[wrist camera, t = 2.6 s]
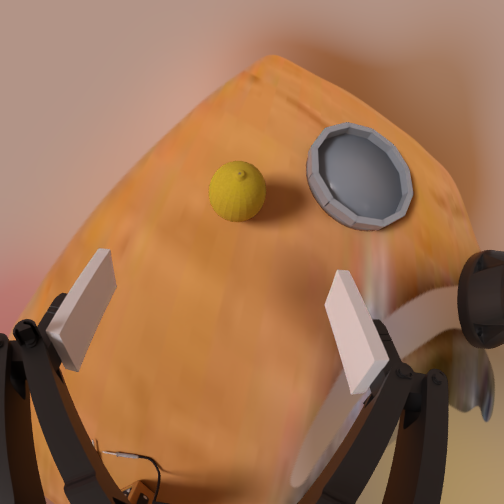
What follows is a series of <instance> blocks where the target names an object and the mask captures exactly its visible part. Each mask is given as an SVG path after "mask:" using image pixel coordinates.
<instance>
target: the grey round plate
mask: <svg viewBox="0 0 504 504" xmlns="http://www.w3.org/2000/svg"><path fill="white" fill-rule="evenodd" d="M306 176H307V181H308V184H309V187H310V190H311V192H312V194H313V196H314V198H315V199H316V201H317V202H318V204H319V205H320V206H321V208H322V209H323V210H324V211H325V212H326V213H327V214H328V215H329V216H331V217H332V218H333V219H334V220H336V221H337V222H339V223H340V224H342V225H344V226H346V227H349V228H352V229H355V230H359V231H375V230H380V229H382V228H384V227H386V226H387V225H389V224H391V223H393V222H395V221H396V220H398V219H400V218H402V217H403V216H404V215H405V214H406V212H407V209H408V207H409V204H410V202H411V199H412V196H413V188H412V182H411V176H410V170H409V167H408V166H407V164H406V163H405V161H404V159H403V158H402V156H401V155H400V153H399V151H398V150H397V148H396V147H395V146H394V145H393V144H392V143H391V142H390V141H388V140H387V139H386V138H384V137H383V136H382V135H380V134H379V133H378V132H376V131H375V130H374V129H372V128H368V127H365V126H361V125H357V124H353V123H349V122H348V123H347V122H346V123H342V124H338V125H334V126H330V127H326V128H325V129H324V130H323V131H322V133H321V134H320V135H319V137H318V138H317V139H316V141H315V142H314V143H313V145H312V146H311V148H310V150H309V152H308V158H307V162H306Z"/></svg>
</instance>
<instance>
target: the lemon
mask: <svg viewBox="0 0 504 504" xmlns="http://www.w3.org/2000/svg"><path fill="white" fill-rule="evenodd" d="M265 196H266V185H265V181H264V178H263V176H262V174H261V173H260V171H259V170H258V169H257V168H256V167H255V166H253V165H252V164H249V163H247V162H243V161H233V162H229V163H227V164H225V165H223V166H222V167H220V168H219V169H218V170H217V171H216V173H215V174H214V175H213V177H212V180H211V182H210V185H209V199H210V203H211V205H212V207H213V209H214V211H215V212H216V213H217V214H218V215H219V216H220V217H222V218H223V219H225V220H228V221H231V222H242V221H246V220H248V219H251V218H252V217H253V216H255V215H256V214H257V213H258V212H259V210H260V209H261V208H262V206H263V203H264V201H265Z"/></svg>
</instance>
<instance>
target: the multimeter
mask: <svg viewBox="0 0 504 504" xmlns="http://www.w3.org/2000/svg"><path fill="white" fill-rule="evenodd" d="M92 444H93V446H94V441H93V439H92ZM94 448H95V446H94ZM104 453H108V454H114V455H116V456H117V457H118V456H121V457H128V458H144V459H148V460H150V461H151V462H152V463H153V464H154V465H155V467H156V469H157V471H158V484H157V488H156V492H155V494H154V493H153V492H152V491H151V490H149V489H148V488H147V487H146V486H145V485H144V484H143V483H142V482H140V481H136V482H134V483H133V484H131V485H129V486H127V487H125V488H123V489H121V491H122V492H123V493H124V494H125V496H126V497H127V498H128V500H129V501H130V502H131V504H152V501H156V498H157V494H158V490H159V486H160V477H161V475H160V471H159V468H158V467H157V465H156V463H155V462H154V461H153V460H152V459H150V458H148V457H144V456H138V455H134V454H126V453H118V452H116V453H111V452H104Z"/></svg>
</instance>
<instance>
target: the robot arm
mask: <svg viewBox="0 0 504 504" xmlns="http://www.w3.org/2000/svg"><path fill="white" fill-rule="evenodd" d="M116 287H117V285H116V280H115V275H114V269H113V264H112V258H111V251H110V249H101V248H99V249H98V250H97V252H96V253H95V254H94V256H93V257H92V259H91V260H90V261H89V263H88V264H87V266H86V267H85V269H84V270H83V272H82V273H81V274H80V276H79V277H78V279H77V280H76V282H75V283H74V285H73V287H72V288H71V290H70V291H69V293H68V294H66V293H61V294H60V295H59V296H57V297H56V298H55V299H54V301H53V302H52V304H51V305H50V307H49V308H48V310H47V312H46V313H45V315H44V316H43V318H42V320H41V321H40V323H39V325H38V326H36V324H35V322H34V321H33V320H30V319H25V320H22V321H20V322H18V323H17V324H16V325H15V327H14V329H13V335H14V337H15V338H16V340H13V341H9V339H8V337H7V336H6V335H5V334H2V333H0V504H46V501H45V497H44V493H43V489H42V485H41V480H40V476H39V471H38V466H37V460H36V454H35V448H34V440H33V432H32V422H31V410H30V393H31V397H32V401H33V404H34V407H35V411H36V414H37V417H38V420H39V423H40V426H41V428H42V431H43V434H44V437H45V439H46V442H47V444H48V447H49V449H50V452H51V454H52V457H53V459H54V461H55V463H56V466H57V468H58V470H59V472H60V474H61V476H62V478H63V480H64V483H65V486H64V492H65V494H66V496H67V498H68V500H69V502H70V503H71V504H131V502H130V501H129V500H128V498H127V497H126V496H125V494H124V493H123V492H122V491H121V490H120V489H119V488H118V486H117V485H116V483H115V482H114V480H113V479H112V477H111V476H110V474H109V472H108V471H107V469H106V467H105V466H104V464H103V462H102V460H101V459H100V457H99V455H98V453H97V451H96V450H95V448H94V446H93V444H92V442H91V440H90V438H89V436H88V434H87V432H86V430H85V428H84V426H83V424H82V422H81V419H80V417H79V415H78V413H77V410H76V408H75V406H74V403H73V401H72V399H71V396H70V394H69V391H68V389H67V386H66V383H65V381H64V378H63V375H62V372H61V370H60V368H59V367H60V364H61V362H62V363H63V365H64V367H65V368H66V369H69V370H72V371H76V372H79V369H80V367H81V364H82V362H83V359H84V357H85V354H86V352H87V350H88V347H89V345H90V343H91V340H92V338H93V336H94V334H95V331H96V329H97V327H98V325H99V323H100V320H101V318H102V316H103V314H104V312H105V310H106V308H107V306H108V304H109V302H110V299H111V297H112V295H113V293H114V291H115V289H116ZM457 302H458V303H457V304H458V314H459V321H460V324H461V328H462V331H463V333H464V335H465V337H466V339H467V340H468V342H469V343H470V344H471V345H472V346H474V347H476V348H480V349H491V348H495V347H498V346H500V345H502V344H504V252H502V251H495V250H486V251H482V252H479V253H476V254H474V255H472V256H471V257H470V258H469V259H468V260H467V262H466V264H465V265H464V267H463V270H462V273H461V276H460V280H459V285H458V297H457ZM325 308H326V311H327V314H328V317H329V321H330V324H331V327H332V330H333V333H334V337H335V340H336V343H337V347H338V350H339V353H340V357H341V360H342V364H343V367H344V371H345V374H346V378H347V381H348V385H349V388H350V392H351V394H359V393H365V392H366V391H367V389H368V388H369V387H370V389H371V392H372V393H371V394H370V395H369V397H368V398H367V399H366V400H365V401H364V403H363V404H365V405H364V406H363V408H362V410H361V412H360V414H359V415H358V417H357V419H356V421H355V422H354V424H353V426H352V427H351V429H350V431H349V432H348V434H347V436H346V437H345V439H344V440H343V442H342V443H341V445H340V447H339V448H338V450H337V451H336V453H335V454H334V456H333V457H332V459H331V460H330V462H329V463H328V464H327V466H326V467H325V469H324V470H323V472H322V473H321V474H320V476H319V477H318V478H317V480H316V481H315V482H314V484H313V485H312V486H311V488H310V489H309V490H308V492H307V493H306V494H305V495H304V497H303V498H302V499H301V500H300V501H299V502H298V503H297V504H355V503H356V501H357V499H358V497H359V496H360V494H361V493H362V491H363V489H364V488H365V486H366V484H367V483H368V481H369V479H370V477H371V475H372V474H373V472H374V470H375V468H376V466H377V464H378V463H379V460H380V459H381V457H382V455H383V453H384V451H385V449H386V447H387V445H388V442H389V440H390V438H391V436H392V434H393V432H394V429H395V427H396V425H397V422H398V420H399V418H400V422H399V429H398V435H397V441H396V447H395V452H394V457H393V462H392V467H391V471H390V476H389V479H388V484H387V487H386V491H385V495H384V499H383V502H382V504H440V500H441V494H442V488H443V482H444V474H445V465H446V455H447V441H448V381H447V377H446V375H445V374H444V373H443V372H442V371H440V370H438V369H431V370H430V371H429V372H428V373H427V374H421V373H415V372H414V371H413V370H412V368H411V367H410V366H409V365H407V364H406V363H403V362H401V359H400V358H399V355H398V353H397V351H396V348H395V346H394V344H393V341H391V340H392V339H391V337H390V335H389V333H388V331H387V329H386V327H385V325H384V324H383V323H382V322H381V321H380V320H372V318H371V316H370V314H369V312H368V310H367V307H366V305H365V303H364V301H363V299H362V297H361V295H360V293H359V290H358V288H357V286H356V284H355V282H354V280H353V278H352V276H351V274H350V272H349V271H347V270H337V271H336V274H335V277H334V280H333V283H332V286H331V289H330V291H329V294H328V297H327V300H326V302H325ZM152 504H168V503H162V502H156V501H152Z"/></svg>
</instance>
